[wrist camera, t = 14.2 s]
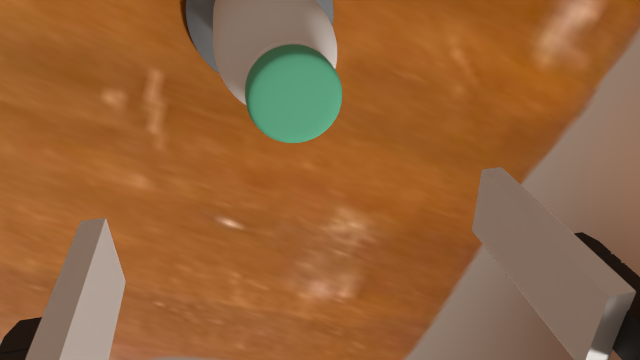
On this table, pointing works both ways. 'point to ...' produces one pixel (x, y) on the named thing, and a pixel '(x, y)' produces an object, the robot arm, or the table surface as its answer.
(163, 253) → the table surface
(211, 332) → the table surface
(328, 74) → the milk bottle
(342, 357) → the table surface
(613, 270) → the robot arm
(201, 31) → the grey round disc
